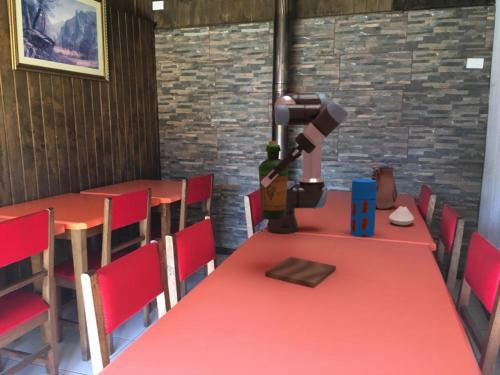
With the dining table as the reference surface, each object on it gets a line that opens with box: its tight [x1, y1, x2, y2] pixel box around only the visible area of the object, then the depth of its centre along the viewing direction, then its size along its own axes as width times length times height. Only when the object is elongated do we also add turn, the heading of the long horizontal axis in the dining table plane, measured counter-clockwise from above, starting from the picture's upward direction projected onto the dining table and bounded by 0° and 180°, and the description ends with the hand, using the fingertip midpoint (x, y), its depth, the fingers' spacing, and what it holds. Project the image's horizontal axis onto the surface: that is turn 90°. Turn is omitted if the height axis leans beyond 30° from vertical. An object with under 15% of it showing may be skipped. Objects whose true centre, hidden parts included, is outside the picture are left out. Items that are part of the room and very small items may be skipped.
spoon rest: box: [388, 205, 415, 227], centre depth 205 cm, size 24×12×7 cm, turn 157°
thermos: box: [349, 178, 377, 238], centre depth 181 cm, size 11×11×25 cm
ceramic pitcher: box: [370, 165, 398, 210], centre depth 236 cm, size 18×21×25 cm
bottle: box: [258, 140, 289, 221], centre depth 143 cm, size 11×11×28 cm
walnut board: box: [264, 256, 337, 288], centre depth 136 cm, size 18×18×2 cm
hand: (265, 182), depth 144 cm, fingers closed on bottle, 10 cm apart
